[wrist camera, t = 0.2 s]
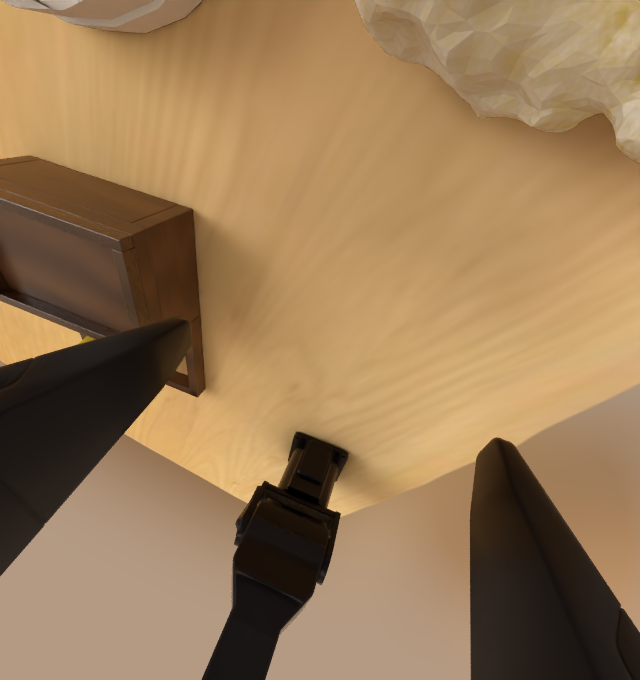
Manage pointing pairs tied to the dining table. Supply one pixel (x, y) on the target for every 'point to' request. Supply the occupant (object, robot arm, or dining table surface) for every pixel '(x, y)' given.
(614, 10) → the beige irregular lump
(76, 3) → the dish
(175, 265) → the step shelf
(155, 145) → the dining table surface
